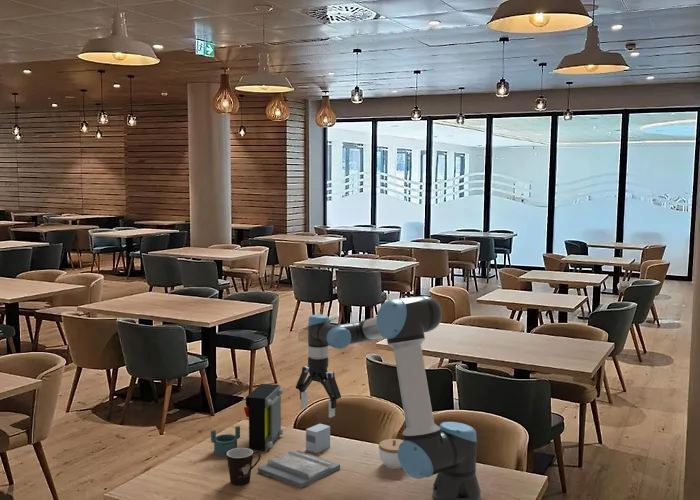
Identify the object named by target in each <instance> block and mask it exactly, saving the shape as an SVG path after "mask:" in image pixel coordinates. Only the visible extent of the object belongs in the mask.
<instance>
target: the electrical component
mask: <svg viewBox="0 0 700 500" xmlns="http://www.w3.org/2000/svg"><path fill="white" fill-rule="evenodd" d="M283 394H284V389H283V388H281V385H280V384H270V383H260V384H259V385H258V386H257V387H255V388H254V389H253V390H252V391H251V392H250V393H249V394H248V395H246V397H245V405H246V407H243V409H244V412H245V416H246V418H248V449H251V450H252V451H256V450H257V452H266V451H268V449H272V448H273V445H274V443H273V442H275V441H276V440H277V439H278V438H279V437H280V436H282V435H283V434H284V429H283V428H282V419H281V418H282V417H281V416H282V410H281V409H282V407H281V406H282V405H281V404H282V399H281V398H282V396H281V395H283Z"/></svg>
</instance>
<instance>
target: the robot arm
mask: <svg viewBox="0 0 700 500" xmlns="http://www.w3.org/2000/svg"><path fill="white" fill-rule="evenodd" d="M442 310H443V309H442V307H441V305H440V303H439V302H438V301H437V300H436V299H434V298H433V297H431V296H427V295H418V296H413V297H412V296H411V297H400V298H399V297H398V298H394V299H390V300H387V301H385V302H383V303H382V304H381V305H380V307H379V309H378V311H377V314H376V316H375V317H371V318H367V319H363V320H361V321H355V322H349V323H348V322H347V323H342V324H332V323H330V319H329V315H326V314H322V313H321V314H318V313H317V314H311V315H309V317H308V321H307V324H308V325H307V342H308V343H307V356H308V357H307V365H305V366H303V367H302V368H301V373H300V376H299V378H298V380H297V383H296V385H295V389H296V390H298V392H299V399H300V409H301V410H304V409H307V408H308V390H307V389H308V387H309V386H310V385H311V384H312V382H317V383H320V384H321V385H322V386H323V388H324V390H325V392H326V393H327V395H328V397H329V399H328V418H333V417H335V416H336V408H337V400H339V399H341V398H342V395H341V392H340V389H339V386H338V382H337V381H336V378H335V377H336V376H335V372H334V371H331V372H330V371H328V368H329V357H328V356H329V347H331V348H335V349H340V350H343V349H345V348H347V347H348V346H349V345H353V344H357V343H363V342H372V341H375V340H377V339H380V338H384V339H386V341H387V345H388V346H389V347H390V348H392V349H393V353H394V354H393V355H394V359H395V366H396V367H395V368H396V372H397V378H398V382H399V383H398V385H399V390H400V391H399V392H400V397H401V403H402V409H403V414H404V420H405V429H404V431H402V438H403V439H402V440H403V442H402V443H401V444H400V445H399V448H398V459H399V462H400V464H401V466H402V468H401V469H402V470H403V471H404V472H405V473H406V474H407V475H408V476H410V477H411V478H413V479H417V480H421V479H425V478H430V477H432V476H434V475H436V477H435V479H434V482H433V484H432V485H433V486H432V497H433V498H434V499H435V500H481V498H482V497H481V496H482V492H481V491H482V490H481V488H480V485H479V480H478V477H477V474H476V470H477V444H478V440H477V431H476V429H475V428H474V427H472V426H470V425H469V424H465V423H462V422H457V421H443V422H441V423H440V424H439V426H438V425H437V424H436V423H435V420H434V413H433V408H432V403H431V396H430V391H429V384H428V380H427V373H426V367H425V361H424V355H423V349H422V344H423V342H424V341H425V339H426V337H425V333H428V332H431V331H433V330H435V329H437V327H439V325H440V323H441V321H442V319H443V318H442V317H443V311H442Z"/></svg>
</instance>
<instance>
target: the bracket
mask: <svg viewBox="0 0 700 500" xmlns="http://www.w3.org/2000/svg"><path fill="white" fill-rule="evenodd" d="M234 428H235V434H231V433H225V434H220V435H219V434H218V435H217V431H216V429H210V442H211V443H213V449H214V451H213V452H214V454H215V455H217V456H218V457H227V452H228V451H229V450H231V449H235V448H238V439H240V438H241V427H240V425H237V426H235V427H234Z"/></svg>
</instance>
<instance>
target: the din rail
mask: <svg viewBox="0 0 700 500" xmlns="http://www.w3.org/2000/svg"><path fill="white" fill-rule="evenodd" d="M295 451H296V450H292V449H290V450H288V453H285V454H283V455H281V456H279V457H277V458H273V459H272V458H269V459H267V464H269V465H271V466H274V467H277V468H280V469H282V470H285V471H288V472H291V473H293V474H296V475H299V476H302V477H304V478H307V479H310V478H312V477H314V476H316V475H318V474H320V473H322V472H324V471H326V470H328V469H330V468H331V463H328V462H325V461H322V460H319V459H316V458H313V457H310V456H307V455H304V454H301V453H298V452H295Z"/></svg>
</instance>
